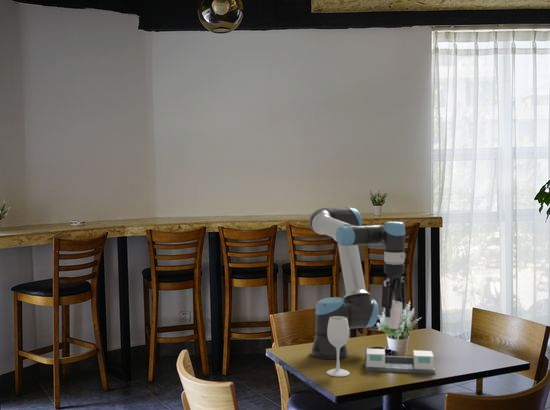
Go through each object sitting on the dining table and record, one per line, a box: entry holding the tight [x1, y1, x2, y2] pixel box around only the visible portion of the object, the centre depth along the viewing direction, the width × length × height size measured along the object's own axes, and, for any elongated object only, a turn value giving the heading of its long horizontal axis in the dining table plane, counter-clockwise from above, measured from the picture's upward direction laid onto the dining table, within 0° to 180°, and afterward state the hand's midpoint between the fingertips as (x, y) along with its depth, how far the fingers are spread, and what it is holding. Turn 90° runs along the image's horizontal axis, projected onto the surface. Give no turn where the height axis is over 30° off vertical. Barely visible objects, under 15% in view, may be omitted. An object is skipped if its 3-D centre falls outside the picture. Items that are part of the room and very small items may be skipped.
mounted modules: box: [365, 347, 435, 370], centre depth 244 cm, size 25×8×5 cm, turn 81°
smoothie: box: [387, 300, 403, 330], centre depth 239 cm, size 6×6×14 cm
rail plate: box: [364, 354, 436, 375], centre depth 245 cm, size 26×10×4 cm, turn 81°
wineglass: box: [326, 316, 350, 378], centre depth 238 cm, size 9×9×21 cm
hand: (393, 323), depth 239 cm, fingers closed on smoothie, 6 cm apart
